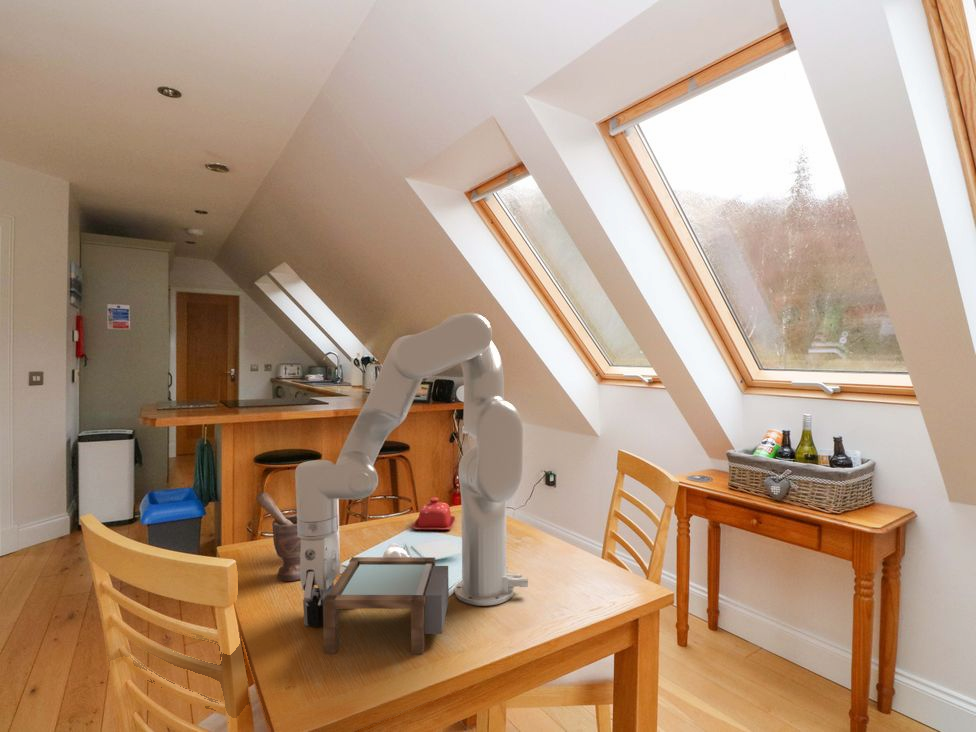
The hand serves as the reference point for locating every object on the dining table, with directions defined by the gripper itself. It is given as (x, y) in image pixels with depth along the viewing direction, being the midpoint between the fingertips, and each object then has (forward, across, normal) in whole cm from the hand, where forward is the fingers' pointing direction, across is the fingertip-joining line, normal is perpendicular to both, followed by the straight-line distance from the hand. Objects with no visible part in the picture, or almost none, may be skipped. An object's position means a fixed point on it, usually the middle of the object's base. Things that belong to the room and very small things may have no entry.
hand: (321, 616), depth 108 cm
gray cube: (+1, 0, 0) cm, 1 cm away
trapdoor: (-1, -2, -15) cm, 16 cm away
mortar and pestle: (+1, +20, +14) cm, 25 cm away
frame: (+1, -2, -14) cm, 14 cm away
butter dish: (+2, +56, -16) cm, 58 cm away
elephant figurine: (+1, +23, -10) cm, 25 cm away
